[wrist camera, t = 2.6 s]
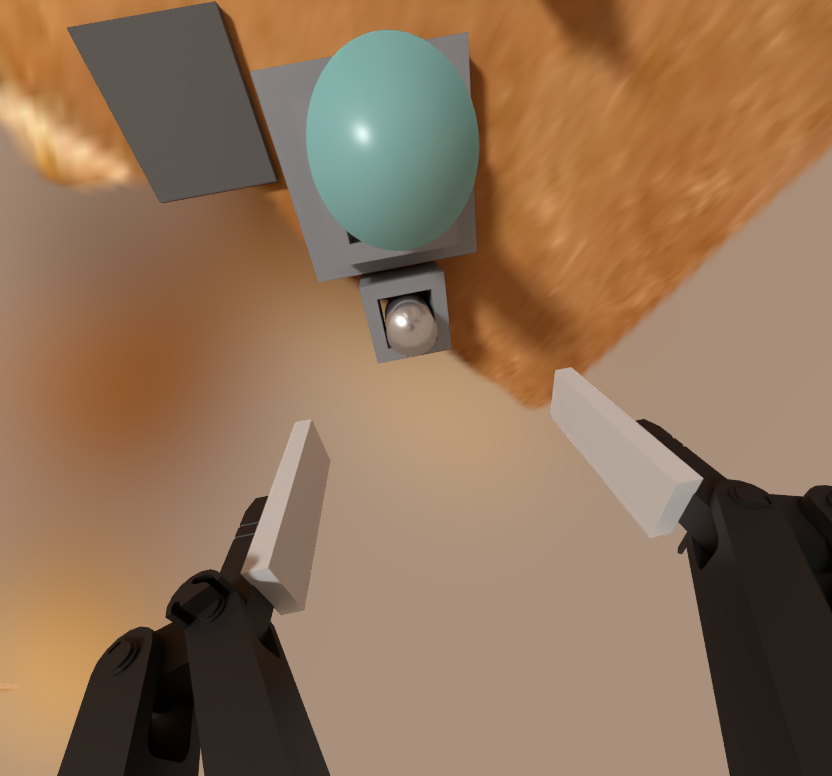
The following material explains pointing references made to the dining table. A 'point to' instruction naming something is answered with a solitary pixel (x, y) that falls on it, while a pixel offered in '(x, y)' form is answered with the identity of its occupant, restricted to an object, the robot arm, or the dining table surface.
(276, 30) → the dining table surface
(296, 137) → the housing
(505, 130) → the dining table surface
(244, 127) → the mat
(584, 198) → the dining table surface
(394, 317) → the shiny grey domed cylinder
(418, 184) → the white and teal cylinder
